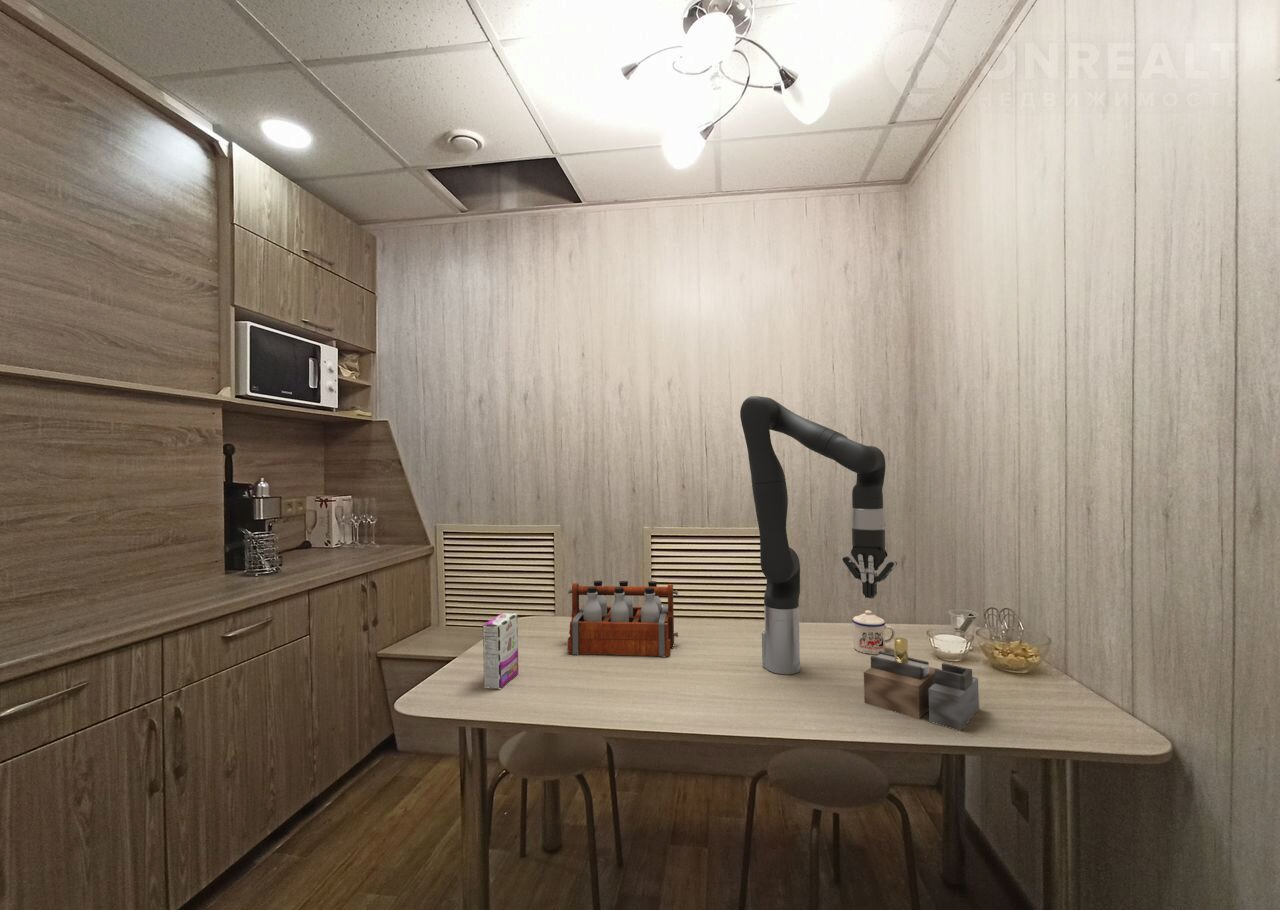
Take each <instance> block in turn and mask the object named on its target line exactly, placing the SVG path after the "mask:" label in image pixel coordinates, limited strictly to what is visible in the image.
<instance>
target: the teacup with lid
mask: <svg viewBox="0 0 1280 910" xmlns="http://www.w3.org/2000/svg"><path fill="white" fill-rule="evenodd" d="M851 621H852V623H853V627H852V628H853V630H852V631H853V649H854V648H855V649H856V650H857V651H856V650H855V649H854V650H855V651H856V652H858V651H860V652H859V653H861V652H863V653H862V654H865V653H869V654H868V655H879V652H880V651H882V652H886V644H888V643H891V642H892V641H894V638H896V631H895V629H894V627H892V626H890V625H886V621H885V620H884V619H883V617H882V618H881V617H879V616H877V615H875V614H873V611H871V610H867V609H866V610H865V611H864V613H861V614H860V615H855V616H853V618H852V620H851ZM885 629H889V630H890V631H891V636H890V637H889V638H888V639H885V636H886V634H885V632H886V631H885Z"/></svg>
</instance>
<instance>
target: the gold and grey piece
mask: <svg viewBox="0 0 1280 910" xmlns="http://www.w3.org/2000/svg"><path fill="white" fill-rule="evenodd" d="M893 642H894V644H893V645H894V654H895V657H892V656H888V655H883V654H876V655H875V657H879V658H883V659H888V660H892V661H896V662H900V663H905V664H909V665H913V666H918V667H921V671H922V677H926V676H927V675H928V674H929V667H930V664H929V665H927V664H923V663H919V662H914V661H910V660H908V657H909V649H908V648H909V647H908V646H909V645H908V639H907V638H904V637H894V639H893Z"/></svg>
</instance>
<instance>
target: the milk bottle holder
mask: <svg viewBox="0 0 1280 910" xmlns="http://www.w3.org/2000/svg"><path fill="white" fill-rule="evenodd" d="M618 584H619V585H618V586H616V585H614V586H612V585H611V586H610V585H609V586H608V585H605V586H604V585H603V580H593V585H580V584H579V583H578V582H574V583H572V584H571V589H569V590H568V592H567V593H568V594H569V595H571V619H570V620H571V621H570V622H569V633H568V634H569V637H568V639H567V654H568V653H573V654H579V653H580V654H581V655H606V654H617V655H616V656H646V655H650V656H654V657H659V656H665V657H670V656H671V648H670V647H673V648H674V646H673V645H675V637H676V638H678V637H679V632H675V628H674V627H675V619H674V618H675V616H674V595H676V596H677V595H679V592H678V590H677V589H676V590H674V584H672V583H670V584H669V583H668V584H667V586H658V582H657V581H655V580H650V581H647V586H629V581H628V580H620V581H619V583H618ZM580 596H587V601H586V603H585V605H582V606H581V608H580ZM606 596H614V601H613V603H612V605H610V606H609V605H608V601H607V599H606V598H607V597H606ZM631 596H633V597H635V596H636V597H637V596H640V597H644V598H645V599H644V602H643V604H642V606H634V605H633V600H632V598H631ZM660 597H667V604H663V605H662V600H661V599H660ZM573 654H572V655H573ZM580 654H579V655H580ZM618 654H619V655H618Z"/></svg>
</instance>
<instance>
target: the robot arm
mask: <svg viewBox="0 0 1280 910" xmlns="http://www.w3.org/2000/svg"><path fill="white" fill-rule="evenodd" d="M739 410H740V411H739V413H740V414H739V415H740V416H739V417H740V422H741V426H742V431H743V434H744V440H745V443H746V449H747V454H748V455H747V456H748V465H749V469H750V470H749V471H750V476H751V477H750V479H751V488H752V495H753V500H754V501H753V502H754V507H755V514H756V515H755V516H756V521H757V526H758V532H759V551H760V552H759V556H760V569H761V572H762V574H763V575H764V577H765V578H766V588H765V592H764V597H763V604H764V605H763V606H764V607H763V608H764V609H763V610H764V615H763V616H764V631H762V632H761V661H762V663H761V664H762V665H761V666H762V668H765V669H766V670H767V671H768V672H772V673H774V674H778V675H794V674H797V673H799V672H800V671H801V649H800V647H801V643H800V637H801V636H800V604H799V603H800V601H799V600H800V596H801V595H800V594H801V564H800V563H801V562H800V557H799V555H798V554H797V553H796V552H797V551H796V550H794V549H793V548H791V547H790V545H789V541H788V534H787V520H788V519H787V517H788V506H789V498H788V497H789V496H788V488H787V479H786V475H785V472H784V471H785V470H784V468H783V466H782V464H781V462H780V460H779V458H778V457H777V454H776V453H775V450H774V447H773V445H772V440H771V431H775V432H777V433H781V434H784V435H786V436H789V437H790V438H793V439H794V440H796V441H797V442H798V443H800V444H801V445H802V446H804V447H806V448H807V449H809V450H811V451H812V452H814V453H817V454H819V455H821V456H823V457H825V458H827V459H829V460H833V461H835V463H837V464H839V465H840V466H842V467H843V468H846V469H848V470H849V471H851V472H854V473H855V474H856V484H855V485H854V486H853V487H852V490H851V497H852V498H851V501H852V502H851V504H852V510H851V545H852V549H851V550H850V554H848V555H847V556H844V557H842V558H841V559H842V562H843V563H844V565H845V566H846V567H847V569H848V570H849V572H850V573H851V574H852V576H853V578H854V579H858V580H859V581H860V582H861V583H862V586H861V588H862V595H863V596H864V598H866V599H871V600H872V599H874V598H875V597H877V595H878V588H877V587H878V582H879V583H880V582H881V581H883V582H884V581H885V579H887V578H888V576H889V575H890V573H892V571H893V570H894V569H895V568H896V566H897V565H898V562H897V561H896V560H892V559H891V558H890V557H888V552H887V550H886V521H885V519H886V517H885V513H884V493H883V487H884V482H885V476H886V456H885V454H884V453H883V451H882V450H881V449H880V448H878V447H877V446H873V445H865V444H863V443H859V442H857V441H854V440H852V439H850V438H848V437H847V436H846V435H845V434H843V433H841V432H838V431H836V430H834V429H832V428H829V427H827V426H825V425H822V424H819V423H817V422H814V421H812V420H810V419H807V418H805V417H803V416H801V415H798V414H796V413H795V412H793V411H792V410H790V409H788V408H787V407H785V406H783V405H782V404H781V403H779V402H778V401H777V400H774V399H773V398H771V397H768V396H760V395H753V396H749V397H747V398H746V399H745V400H743V402H742V404H741V407H740V409H739ZM770 430H771V431H770ZM856 563H857V564H856ZM857 565H858V566H859V567H858V566H857ZM882 565H883V566H884V568H883V569H882V570H881V571H880V567H881V566H882Z"/></svg>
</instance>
